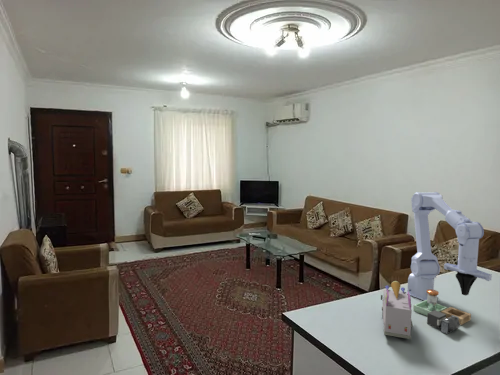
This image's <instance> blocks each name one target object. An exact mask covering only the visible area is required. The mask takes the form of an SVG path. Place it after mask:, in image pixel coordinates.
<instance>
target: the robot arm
mask: <svg viewBox="0 0 500 375" xmlns="http://www.w3.org/2000/svg"><path fill="white" fill-rule="evenodd" d="M410 200H411V201H410V203H411V210H412V212H413V218H414V219H413V220H414V229H415V230H414V231H415V242H416V243H415V244H416V251H417V252H416V253H415V254H414V255H412V257H411V264H410V271H411V273H410V274H409V275H408V278H407V291H406V293H407V296H408V292H409V294H410V297H413V298H416V299H419V300H422V301H425V300H427V296H428V293H427V290H428V289H432V290H435V279H436V278H437V276H438V275H439V274H440V271H441V266H440V263H439V260H438V257H437V256H436V255H435V254H434V253H432V245H431V236H430V224H429V223H430V222H429V214H430V213H431V212H434V211H435V210H437V211H438V212H439V213H440V214H442V215H443V216H444V219H445V221H446V223H448V225H450V226H451V227H452V228H453V229H454V230H455V235H456V238H457V239H456V240H457V243H458V253H457V255H458V256H457V264H455V263H454V264H453V263H449V262H446V263H444V265H443V270H447V271H452V272H456V274H455V278H456V280H457V282H458V284H459V287H460V291H461V295H463V296H469V293H470V290H471V288H472V286H473V284H474V282H475V281H476V280H477V279H478V278H479V279H482V280H485V281H486V282H490V281H492V277H493V276H492V274H491V273H488V272H485V271H482V270H480V269H478V259H479V258H478V257H479V246H480V245H479V244H480V239H482V238H483V236H484V235H485V233H484V232H485V231H484V230H485V229H484V227H483V225H482V224H481V222H478V221H473V220H471V219H470V218H468V217H467V216H466V215H465V214H463V211H462V210H460V209H453V208H452V207H451V206H450V205H449V204H447V203H446V201H445V200H444V198H443V195H442V194H440V192H438V191H434V192H432V191H431V192H428V191H426V192H425V191H423V192H422V191H420V192H419V191H416V192H414V193H413V195H412V197H411V198H410ZM438 298H439V297H438V296H437V299H438Z"/></svg>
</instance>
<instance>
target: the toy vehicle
mask: <svg viewBox="0 0 500 375" xmlns="http://www.w3.org/2000/svg"><path fill="white" fill-rule="evenodd" d="M390 287H391V289H389V288H390ZM405 290H406V288H405V287H401V283H400V282H399V281H397V280H394V281H392V282H391V284H390V286H389V285H385V287H384V289H383V294H380V300H381V301H382V306H381V311H382V312H381V313H382V314H381V315H382V316H381V317H382V319H383V335H384V336H389V337H390V336H391V337H396V338H402V339H408V340H411V339H412V334H411V329H412V328H413V327H414V324H413V321H412V314H413V313H412V312H413V309H412V303H411V302H412V300H411V297H412V296H410V294H409V292H408V295H407V291H405Z"/></svg>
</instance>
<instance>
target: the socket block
mask: <svg viewBox="0 0 500 375" xmlns="http://www.w3.org/2000/svg"><path fill="white" fill-rule="evenodd" d="M441 313H443V314H446V318H448V317H451V315H454V316H457V317H459V322H460V326H462V325H465V324H466V323H468V322H469V321H471V319H472V314H471V313H469V312H467V311H464V310H461V309H458V308H456V307H452V306H449V307H447V309H445V310H443V311H441Z"/></svg>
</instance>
